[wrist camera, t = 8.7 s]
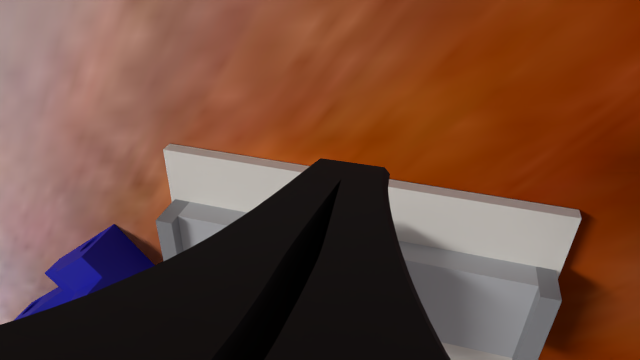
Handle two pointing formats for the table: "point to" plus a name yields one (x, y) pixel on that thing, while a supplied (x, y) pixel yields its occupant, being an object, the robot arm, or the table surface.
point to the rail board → (410, 246)
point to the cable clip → (91, 269)
